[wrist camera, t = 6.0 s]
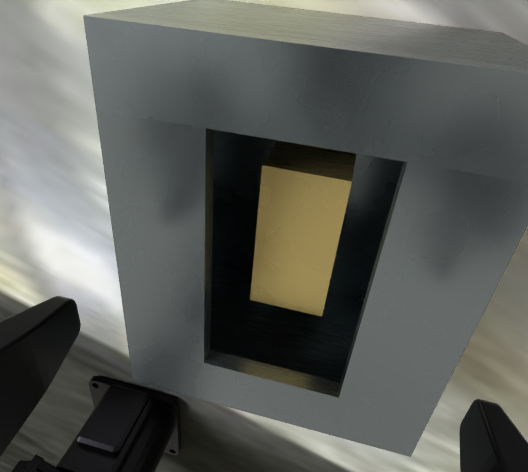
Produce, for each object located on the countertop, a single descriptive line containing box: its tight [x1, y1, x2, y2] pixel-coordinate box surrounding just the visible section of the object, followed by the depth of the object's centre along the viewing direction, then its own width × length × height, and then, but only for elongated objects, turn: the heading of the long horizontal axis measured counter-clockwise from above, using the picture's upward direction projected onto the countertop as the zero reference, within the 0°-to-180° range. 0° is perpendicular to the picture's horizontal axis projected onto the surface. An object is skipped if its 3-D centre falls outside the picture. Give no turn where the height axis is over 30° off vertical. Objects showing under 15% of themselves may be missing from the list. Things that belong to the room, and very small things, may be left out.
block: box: [250, 140, 356, 316], centre depth 15 cm, size 5×2×5 cm, turn 174°
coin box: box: [83, 0, 528, 457], centre depth 14 cm, size 12×10×7 cm
